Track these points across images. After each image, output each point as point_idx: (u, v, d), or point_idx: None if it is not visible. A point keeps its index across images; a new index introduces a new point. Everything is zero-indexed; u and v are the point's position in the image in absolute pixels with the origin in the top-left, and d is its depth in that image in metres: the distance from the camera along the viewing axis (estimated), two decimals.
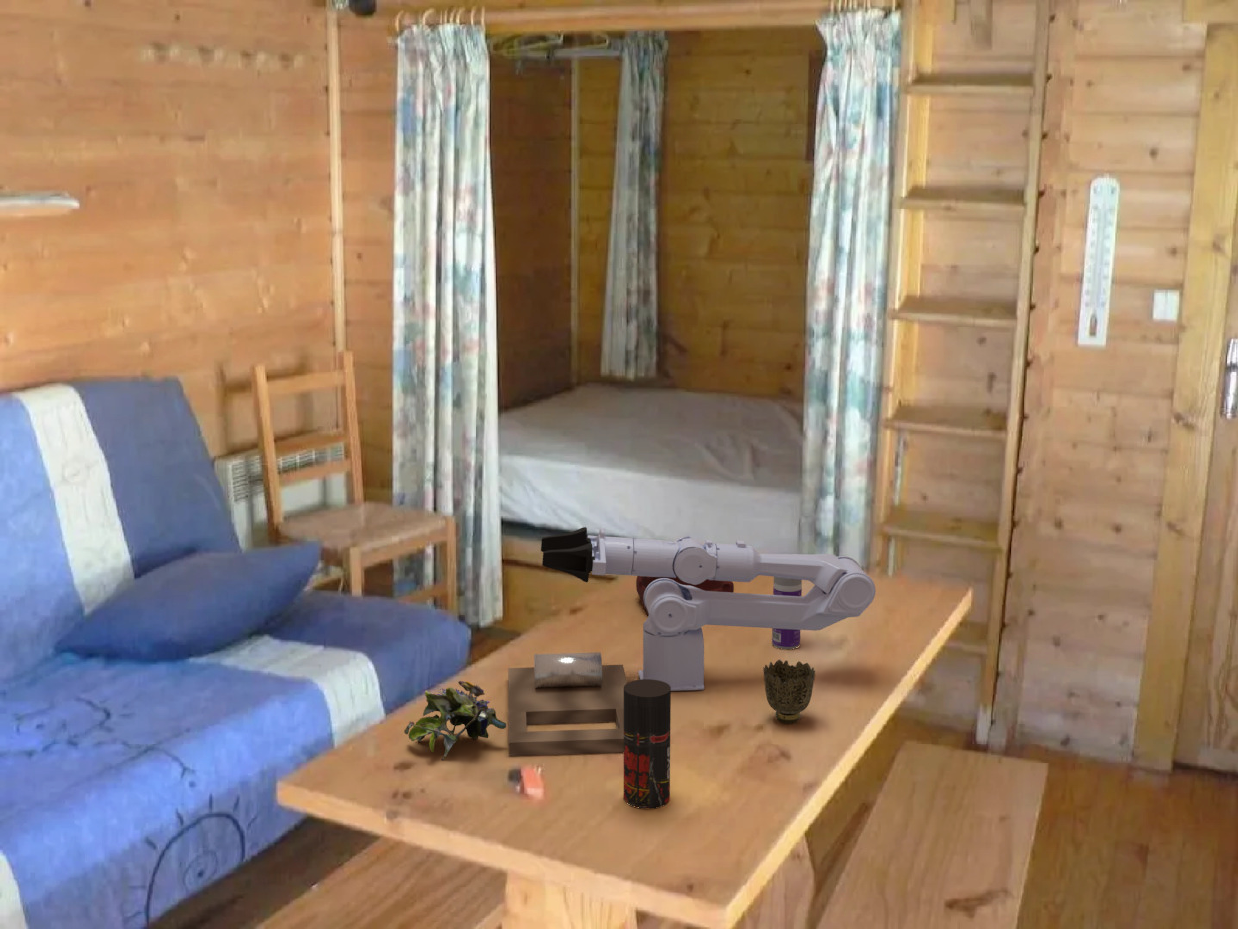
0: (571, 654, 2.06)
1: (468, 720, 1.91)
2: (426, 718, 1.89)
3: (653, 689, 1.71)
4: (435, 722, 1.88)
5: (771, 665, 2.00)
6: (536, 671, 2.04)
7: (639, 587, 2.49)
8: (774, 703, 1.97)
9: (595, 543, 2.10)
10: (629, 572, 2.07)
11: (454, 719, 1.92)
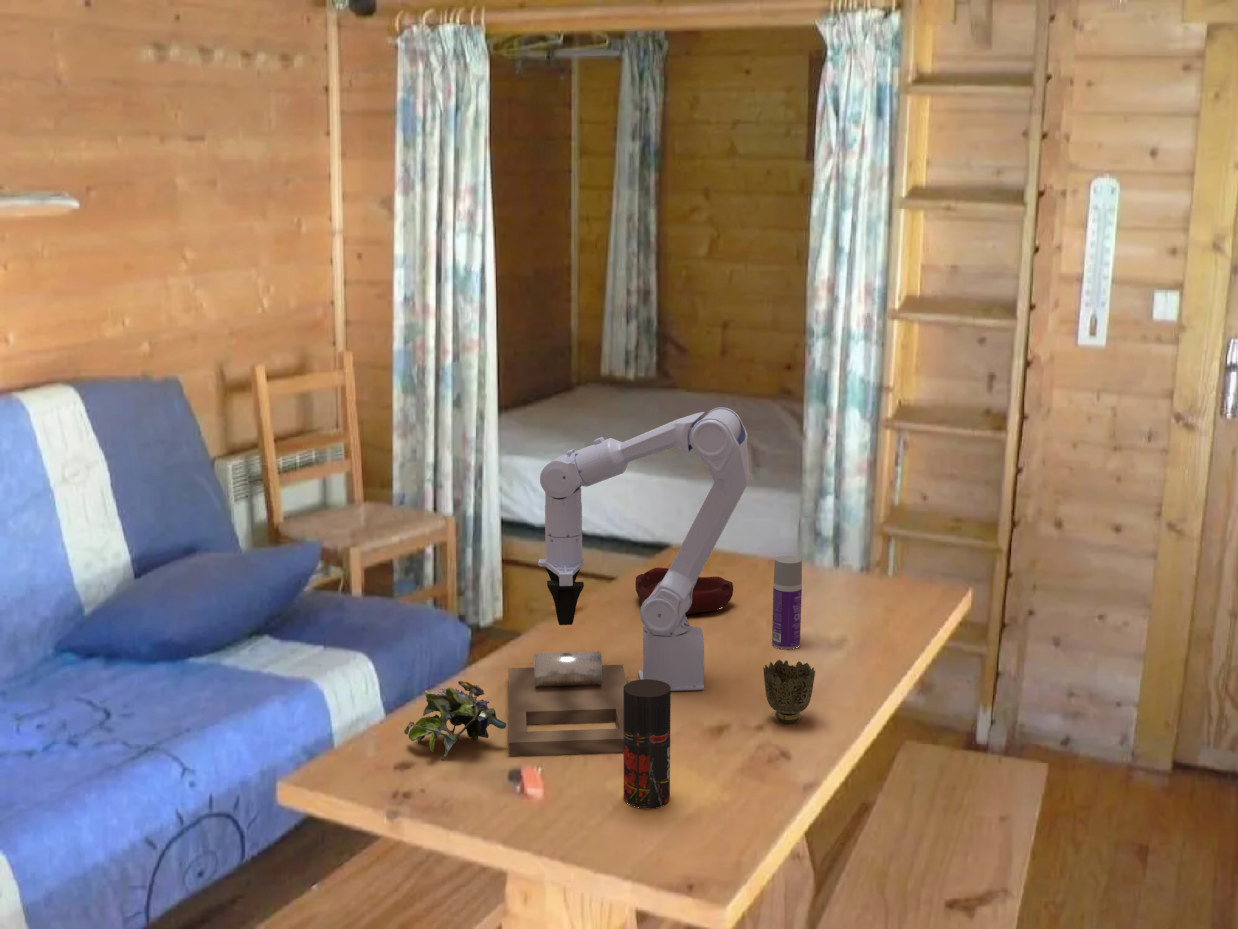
0: (571, 652, 2.07)
1: (468, 720, 1.91)
2: (426, 718, 1.89)
3: (653, 689, 1.71)
4: (435, 722, 1.88)
5: (771, 665, 2.00)
6: (536, 667, 2.04)
7: (638, 587, 2.49)
8: (774, 703, 1.97)
9: None
10: (576, 538, 2.11)
11: (454, 719, 1.92)
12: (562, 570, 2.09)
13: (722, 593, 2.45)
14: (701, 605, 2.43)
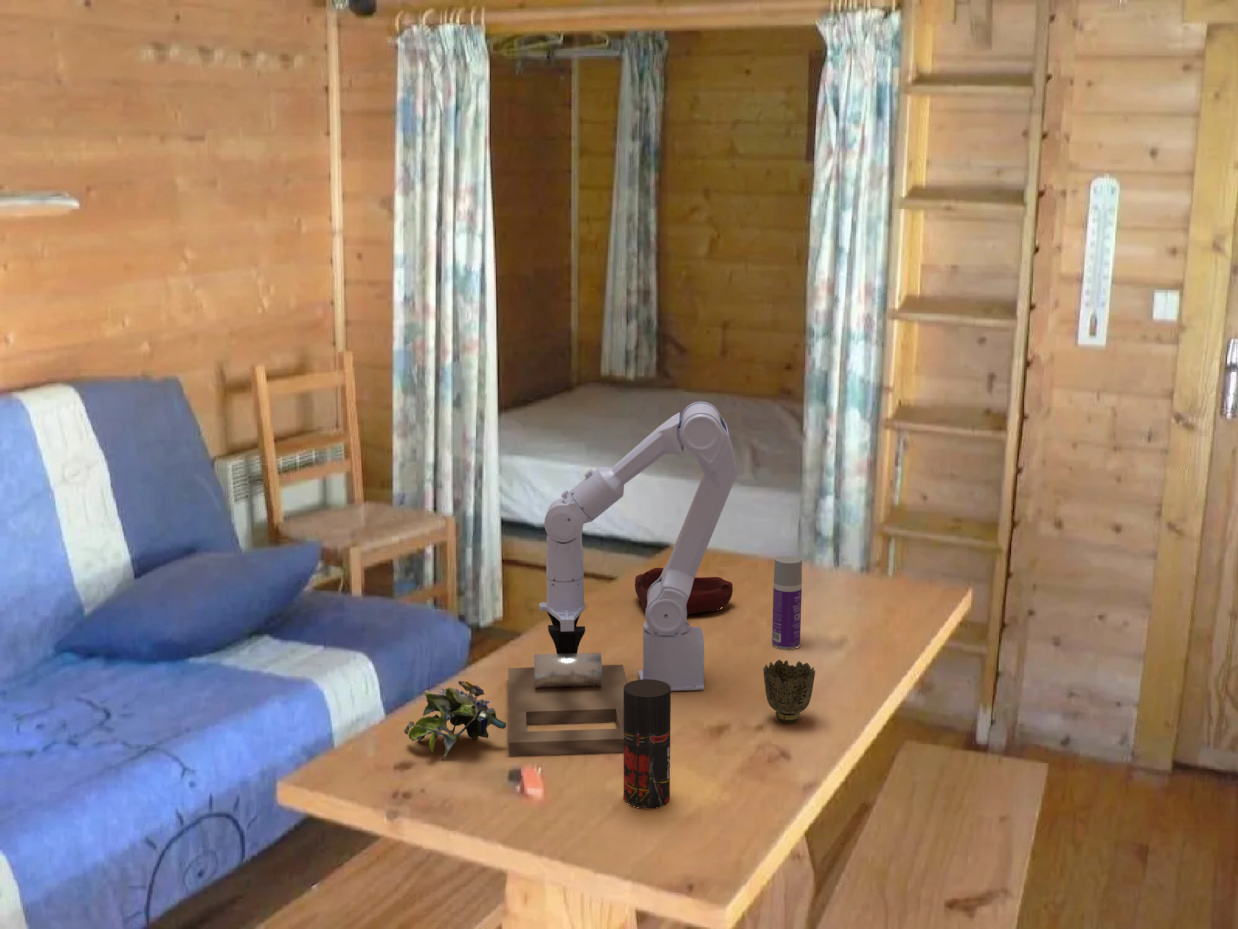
0: (571, 654, 2.06)
1: (468, 720, 1.91)
2: (426, 718, 1.89)
3: (653, 689, 1.71)
4: (435, 722, 1.88)
5: (771, 665, 2.00)
6: (536, 671, 2.04)
7: (638, 588, 2.49)
8: (774, 703, 1.97)
9: None
10: (577, 582, 2.09)
11: (454, 719, 1.92)
12: (563, 615, 2.07)
13: (721, 593, 2.45)
14: (701, 605, 2.42)
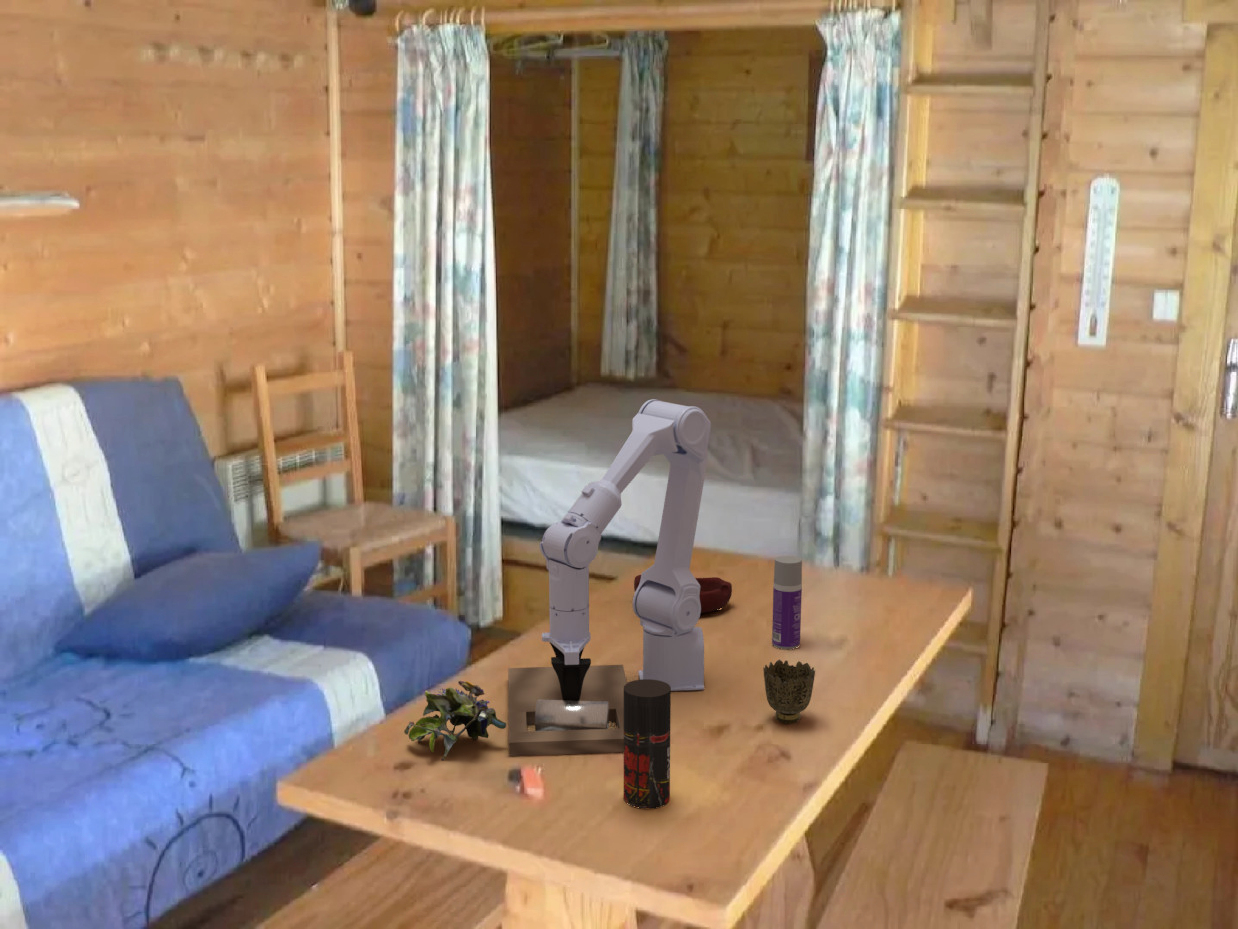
0: (576, 702, 1.93)
1: (468, 720, 1.91)
2: (426, 718, 1.89)
3: (653, 689, 1.71)
4: (435, 722, 1.88)
5: (771, 665, 2.00)
6: (536, 719, 1.92)
7: None
8: (774, 703, 1.97)
9: None
10: (582, 611, 1.95)
11: (454, 719, 1.92)
12: (567, 647, 1.94)
13: (721, 594, 2.44)
14: None
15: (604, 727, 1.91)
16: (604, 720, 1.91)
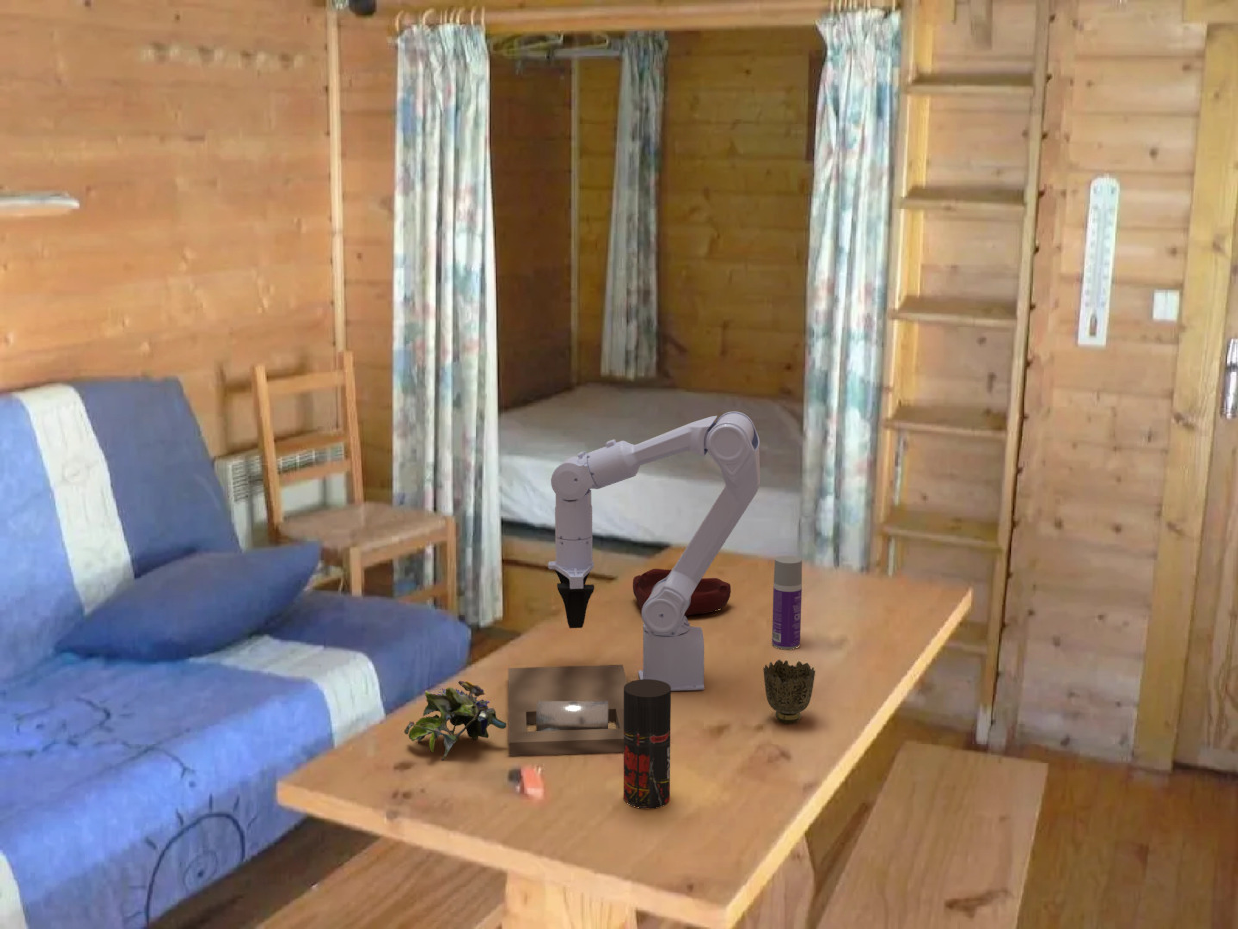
0: (576, 703, 1.93)
1: (468, 720, 1.91)
2: (426, 718, 1.89)
3: (653, 689, 1.71)
4: (435, 722, 1.88)
5: (771, 665, 2.00)
6: (537, 721, 1.92)
7: (636, 589, 2.48)
8: (774, 703, 1.97)
9: None
10: (586, 540, 2.10)
11: (454, 719, 1.92)
12: (572, 573, 2.08)
13: (719, 594, 2.44)
14: (698, 606, 2.42)
15: (606, 727, 1.92)
16: (606, 720, 1.91)
